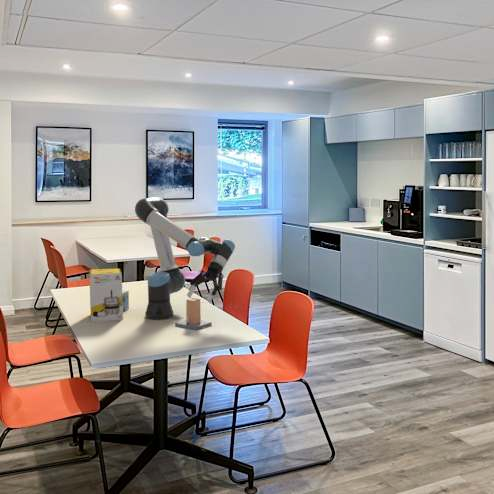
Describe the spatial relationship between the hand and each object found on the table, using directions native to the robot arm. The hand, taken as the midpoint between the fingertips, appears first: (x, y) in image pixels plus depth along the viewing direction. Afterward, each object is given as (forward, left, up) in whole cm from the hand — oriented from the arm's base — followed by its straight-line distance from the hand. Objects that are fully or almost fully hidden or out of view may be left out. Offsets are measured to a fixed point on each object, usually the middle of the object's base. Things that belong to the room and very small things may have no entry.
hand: (198, 298), depth 308 cm
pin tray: (-1, -3, -14) cm, 14 cm away
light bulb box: (-57, -2, -14) cm, 58 cm away
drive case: (-1, -3, -12) cm, 13 cm away
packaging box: (-51, -17, -14) cm, 55 cm away
